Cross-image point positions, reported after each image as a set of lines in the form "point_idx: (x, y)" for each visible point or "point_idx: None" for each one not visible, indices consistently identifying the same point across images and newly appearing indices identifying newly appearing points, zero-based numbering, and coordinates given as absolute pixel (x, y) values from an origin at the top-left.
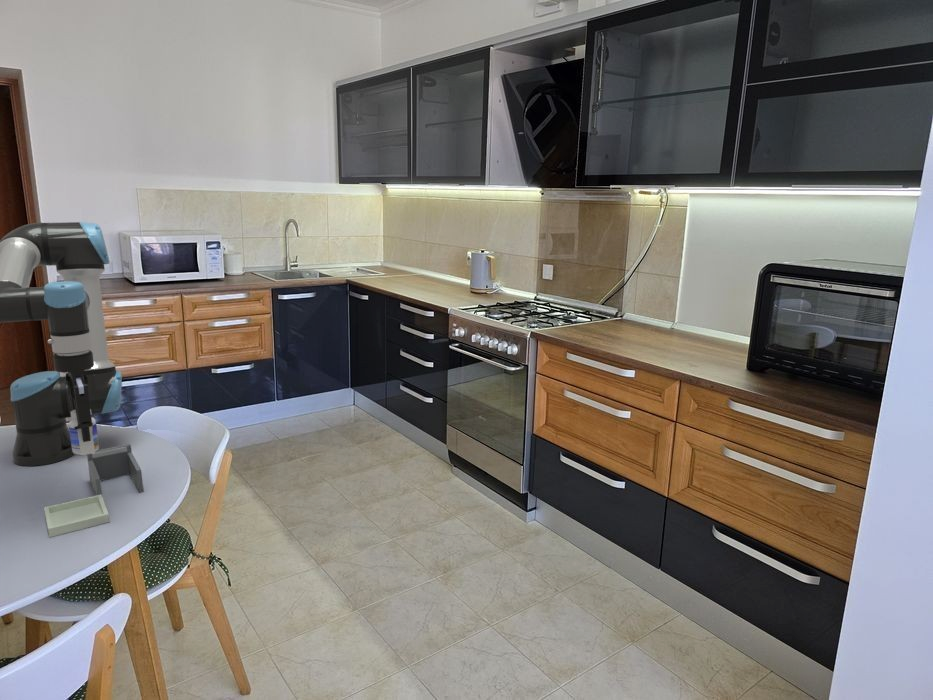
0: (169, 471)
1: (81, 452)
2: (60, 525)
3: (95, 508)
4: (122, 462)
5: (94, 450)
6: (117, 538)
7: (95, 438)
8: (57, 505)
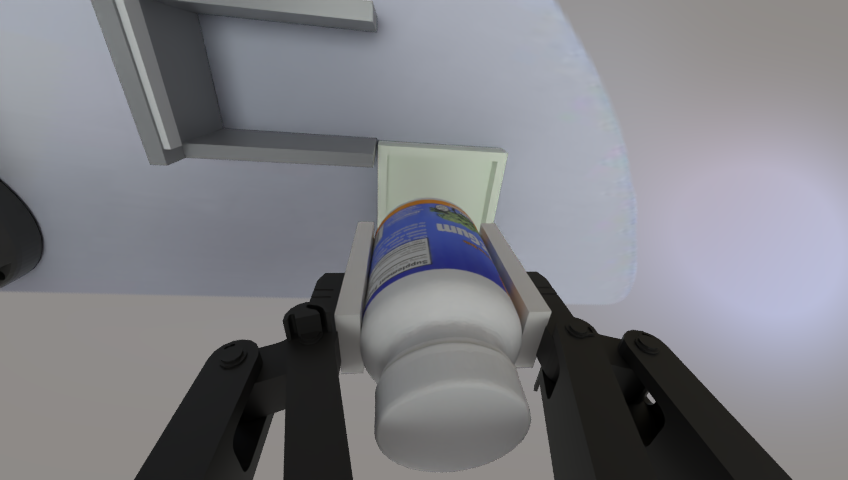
0: None
1: None
2: None
3: (422, 165)
4: (172, 30)
5: (498, 229)
6: (585, 150)
7: (479, 238)
8: None
